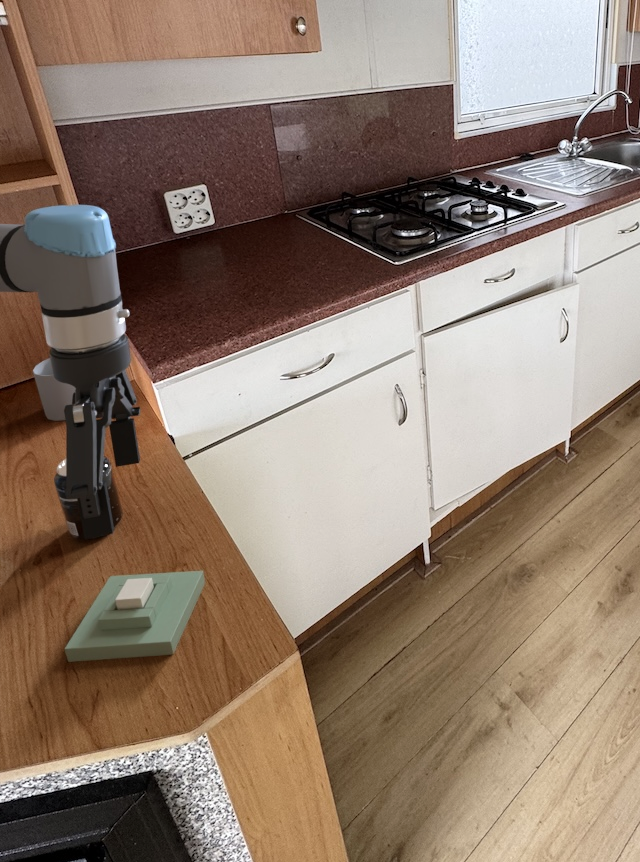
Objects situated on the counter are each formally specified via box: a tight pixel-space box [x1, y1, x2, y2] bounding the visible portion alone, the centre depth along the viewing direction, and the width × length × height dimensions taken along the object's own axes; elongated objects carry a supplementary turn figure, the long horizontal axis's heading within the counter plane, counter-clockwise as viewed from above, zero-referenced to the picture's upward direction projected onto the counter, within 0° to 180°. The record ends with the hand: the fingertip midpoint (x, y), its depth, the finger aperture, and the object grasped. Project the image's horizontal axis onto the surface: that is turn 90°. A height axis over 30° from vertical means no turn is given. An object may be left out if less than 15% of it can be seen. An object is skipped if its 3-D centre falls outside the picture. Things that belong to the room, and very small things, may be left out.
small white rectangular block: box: [115, 578, 154, 610], centre depth 72 cm, size 3×3×2 cm
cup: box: [32, 357, 76, 422], centre depth 114 cm, size 8×8×10 cm
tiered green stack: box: [63, 570, 206, 663], centre depth 73 cm, size 12×10×4 cm
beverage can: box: [53, 455, 124, 541], centre depth 86 cm, size 7×7×12 cm
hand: (115, 496), depth 72 cm, fingers open, 13 cm apart
